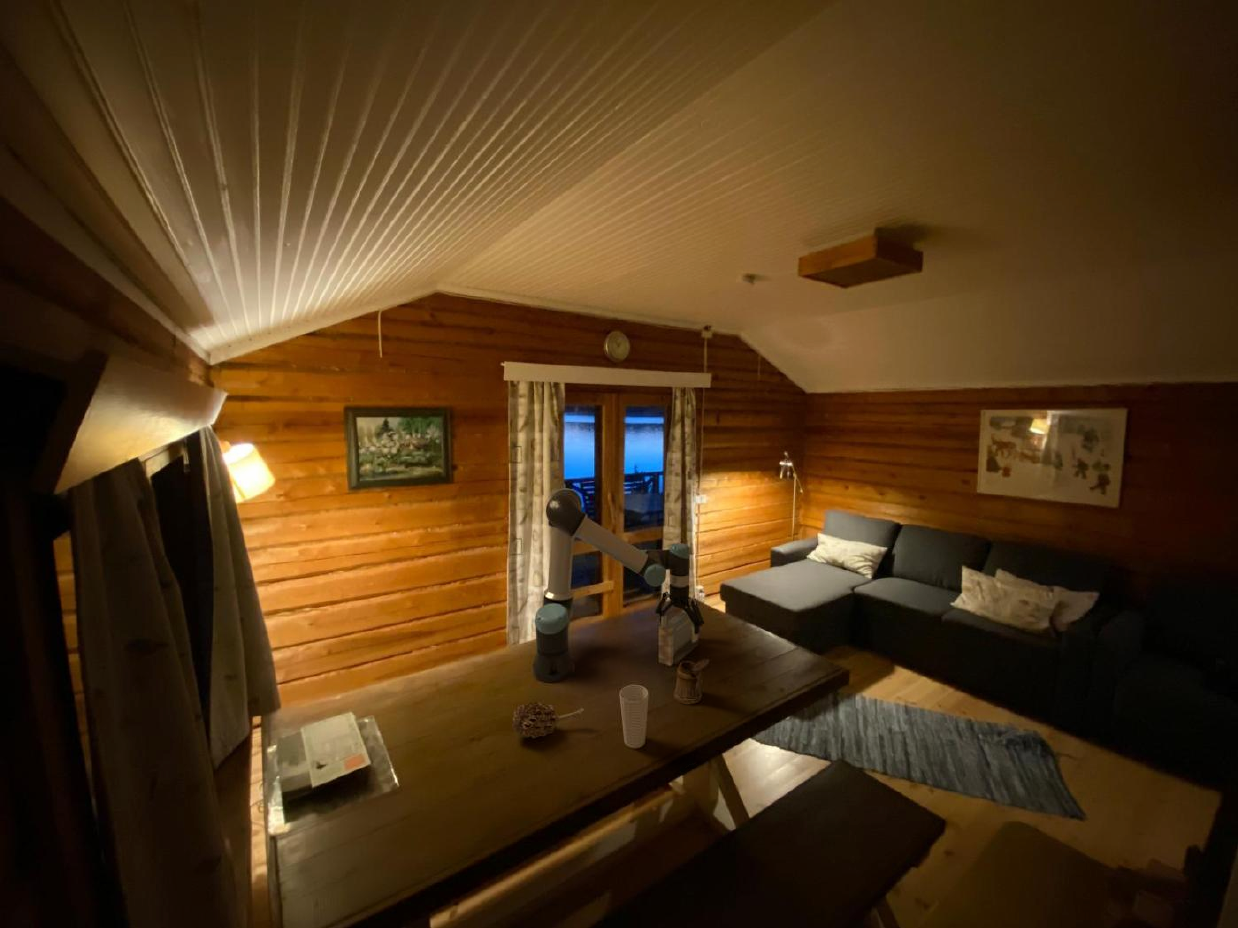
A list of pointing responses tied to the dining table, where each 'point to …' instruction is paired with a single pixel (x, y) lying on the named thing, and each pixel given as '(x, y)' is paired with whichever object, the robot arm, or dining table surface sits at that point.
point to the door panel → (680, 630)
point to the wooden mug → (689, 682)
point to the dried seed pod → (538, 719)
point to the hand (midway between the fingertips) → (679, 636)
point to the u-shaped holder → (667, 646)
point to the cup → (634, 714)
